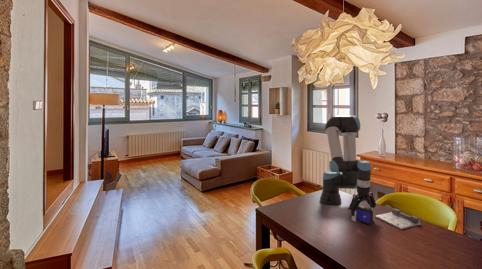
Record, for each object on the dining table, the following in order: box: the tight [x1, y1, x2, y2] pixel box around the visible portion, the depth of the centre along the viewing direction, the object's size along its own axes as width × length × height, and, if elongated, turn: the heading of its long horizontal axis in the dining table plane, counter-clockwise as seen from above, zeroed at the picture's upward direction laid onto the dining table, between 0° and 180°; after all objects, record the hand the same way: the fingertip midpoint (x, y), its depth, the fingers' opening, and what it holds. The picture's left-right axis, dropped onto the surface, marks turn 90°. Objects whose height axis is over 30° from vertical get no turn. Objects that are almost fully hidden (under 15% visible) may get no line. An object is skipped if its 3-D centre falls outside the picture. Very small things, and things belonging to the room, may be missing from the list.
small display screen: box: [355, 203, 374, 225], centre depth 164 cm, size 16×5×9 cm, turn 18°
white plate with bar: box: [375, 208, 421, 230], centre depth 162 cm, size 18×16×4 cm
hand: (362, 218), depth 164 cm, fingers open, 13 cm apart
